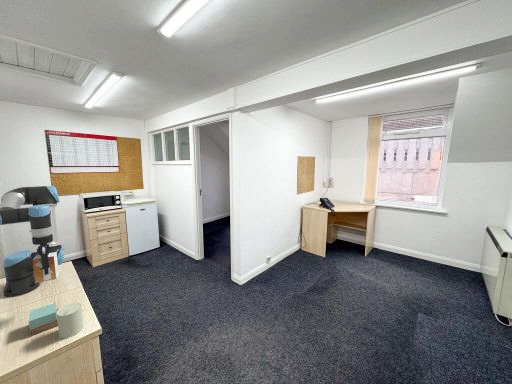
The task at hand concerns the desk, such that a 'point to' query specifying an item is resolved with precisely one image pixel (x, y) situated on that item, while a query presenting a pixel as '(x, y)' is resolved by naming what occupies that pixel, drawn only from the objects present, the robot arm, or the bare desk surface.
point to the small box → (38, 265)
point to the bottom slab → (43, 327)
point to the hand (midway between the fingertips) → (47, 276)
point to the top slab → (42, 315)
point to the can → (70, 320)
